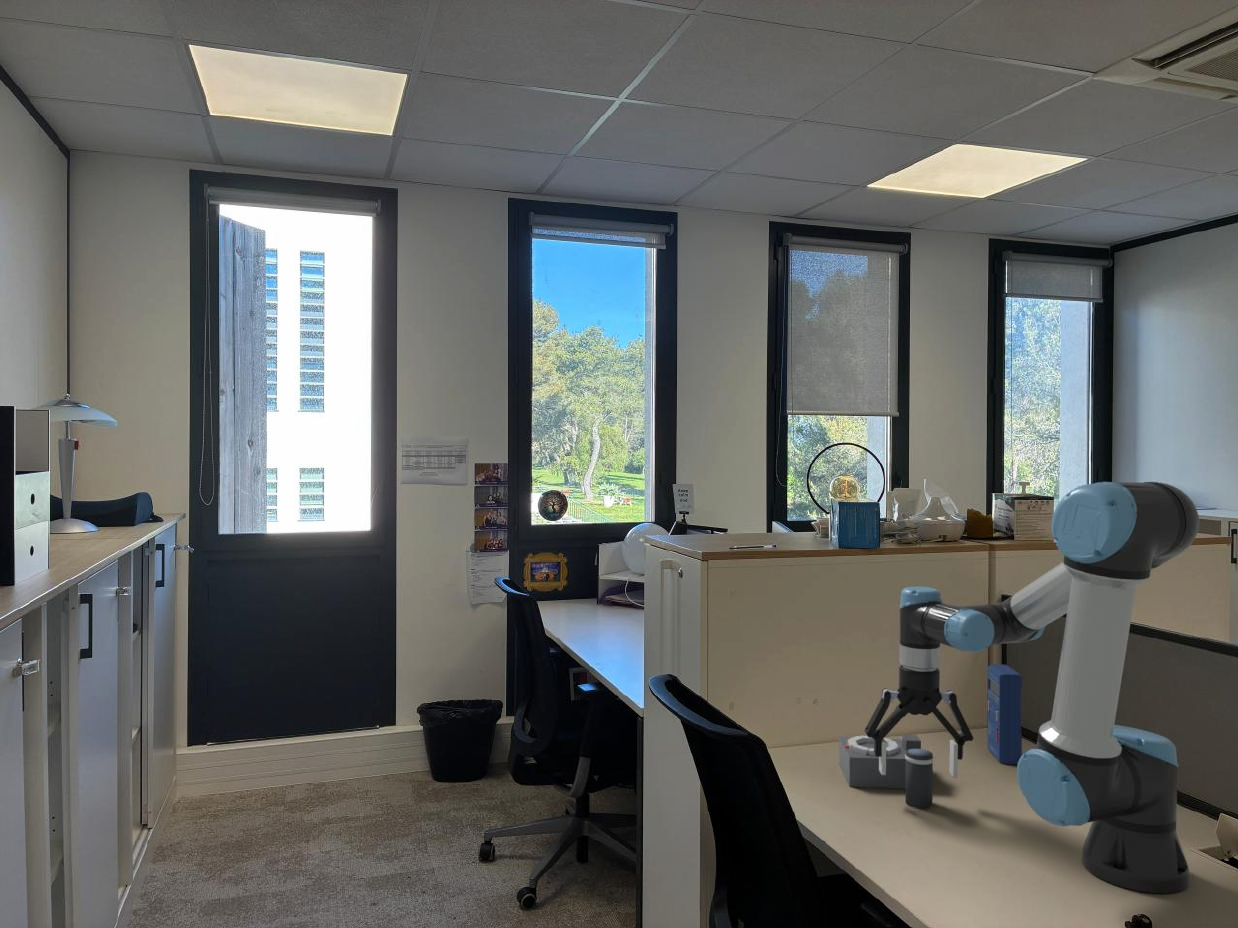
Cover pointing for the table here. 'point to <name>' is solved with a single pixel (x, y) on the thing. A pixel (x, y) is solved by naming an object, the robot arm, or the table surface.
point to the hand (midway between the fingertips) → (917, 773)
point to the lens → (919, 778)
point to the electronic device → (1004, 713)
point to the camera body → (875, 761)
